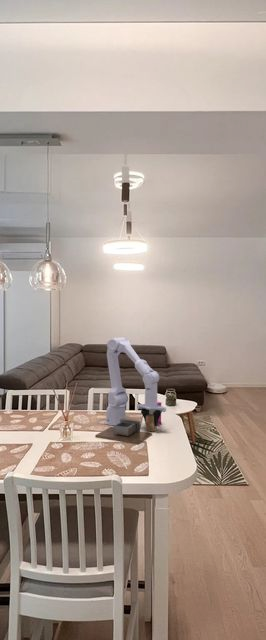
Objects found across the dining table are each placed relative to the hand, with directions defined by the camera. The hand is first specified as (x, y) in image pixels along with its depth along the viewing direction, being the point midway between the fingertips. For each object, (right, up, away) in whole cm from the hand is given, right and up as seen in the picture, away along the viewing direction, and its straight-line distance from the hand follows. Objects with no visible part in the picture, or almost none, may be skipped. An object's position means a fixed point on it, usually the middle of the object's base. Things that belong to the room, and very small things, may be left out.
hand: (151, 425), depth 183 cm
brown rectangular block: (0, -2, 0) cm, 2 cm away
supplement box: (+2, -3, +9) cm, 10 cm away
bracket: (-13, -3, -7) cm, 15 cm away
